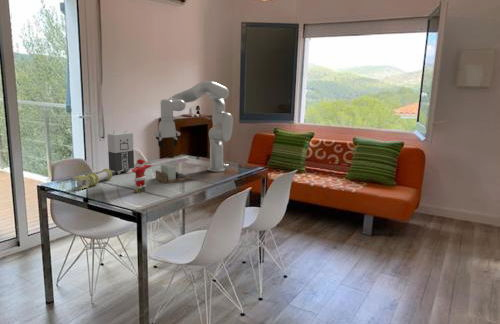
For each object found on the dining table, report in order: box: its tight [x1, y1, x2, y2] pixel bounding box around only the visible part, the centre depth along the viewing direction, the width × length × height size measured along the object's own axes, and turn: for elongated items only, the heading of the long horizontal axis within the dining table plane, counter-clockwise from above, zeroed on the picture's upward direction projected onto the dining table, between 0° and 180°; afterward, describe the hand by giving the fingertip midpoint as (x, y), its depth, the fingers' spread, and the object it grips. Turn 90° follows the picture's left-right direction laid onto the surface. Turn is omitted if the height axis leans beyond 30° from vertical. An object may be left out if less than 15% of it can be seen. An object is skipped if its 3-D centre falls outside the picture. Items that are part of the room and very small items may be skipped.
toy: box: [107, 129, 135, 175], centre depth 255 cm, size 15×7×30 cm, turn 145°
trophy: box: [72, 168, 113, 190], centre depth 223 cm, size 8×8×30 cm
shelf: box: [155, 170, 192, 185], centre depth 242 cm, size 18×16×5 cm
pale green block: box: [160, 163, 177, 180], centre depth 240 cm, size 5×12×8 cm, turn 33°
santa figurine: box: [125, 158, 155, 194], centre depth 211 cm, size 25×6×19 cm, turn 159°
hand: (167, 146), depth 237 cm, fingers open, 9 cm apart
